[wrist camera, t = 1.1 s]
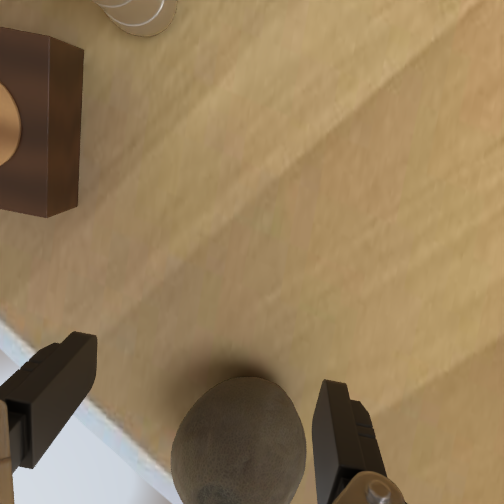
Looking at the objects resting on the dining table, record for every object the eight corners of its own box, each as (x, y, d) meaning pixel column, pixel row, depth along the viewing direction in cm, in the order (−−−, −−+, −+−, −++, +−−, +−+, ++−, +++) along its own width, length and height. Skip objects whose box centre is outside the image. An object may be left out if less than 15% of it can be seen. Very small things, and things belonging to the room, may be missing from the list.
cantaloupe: (218, 334, 47) (190, 424, 33) (322, 381, 48) (339, 489, 34) (175, 418, 51) (134, 530, 37) (272, 460, 52) (268, 585, 38)
